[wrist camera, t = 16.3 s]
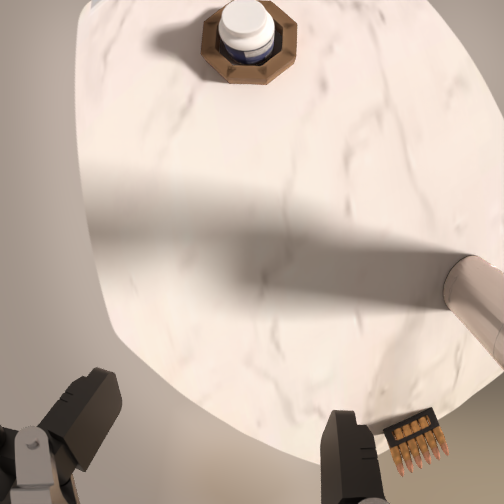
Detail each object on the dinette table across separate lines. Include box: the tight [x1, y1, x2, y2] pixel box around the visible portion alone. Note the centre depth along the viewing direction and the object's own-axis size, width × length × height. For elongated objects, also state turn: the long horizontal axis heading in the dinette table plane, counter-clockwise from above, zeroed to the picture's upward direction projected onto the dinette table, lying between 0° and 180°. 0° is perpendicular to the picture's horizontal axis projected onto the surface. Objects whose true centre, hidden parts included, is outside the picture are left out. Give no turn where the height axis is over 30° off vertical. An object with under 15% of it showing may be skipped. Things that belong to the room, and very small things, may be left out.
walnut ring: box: [201, 0, 297, 85], centre depth 28 cm, size 10×10×3 cm
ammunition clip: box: [383, 407, 449, 477], centre depth 42 cm, size 11×2×12 cm, turn 117°
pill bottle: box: [219, 0, 275, 66], centre depth 25 cm, size 5×5×10 cm
